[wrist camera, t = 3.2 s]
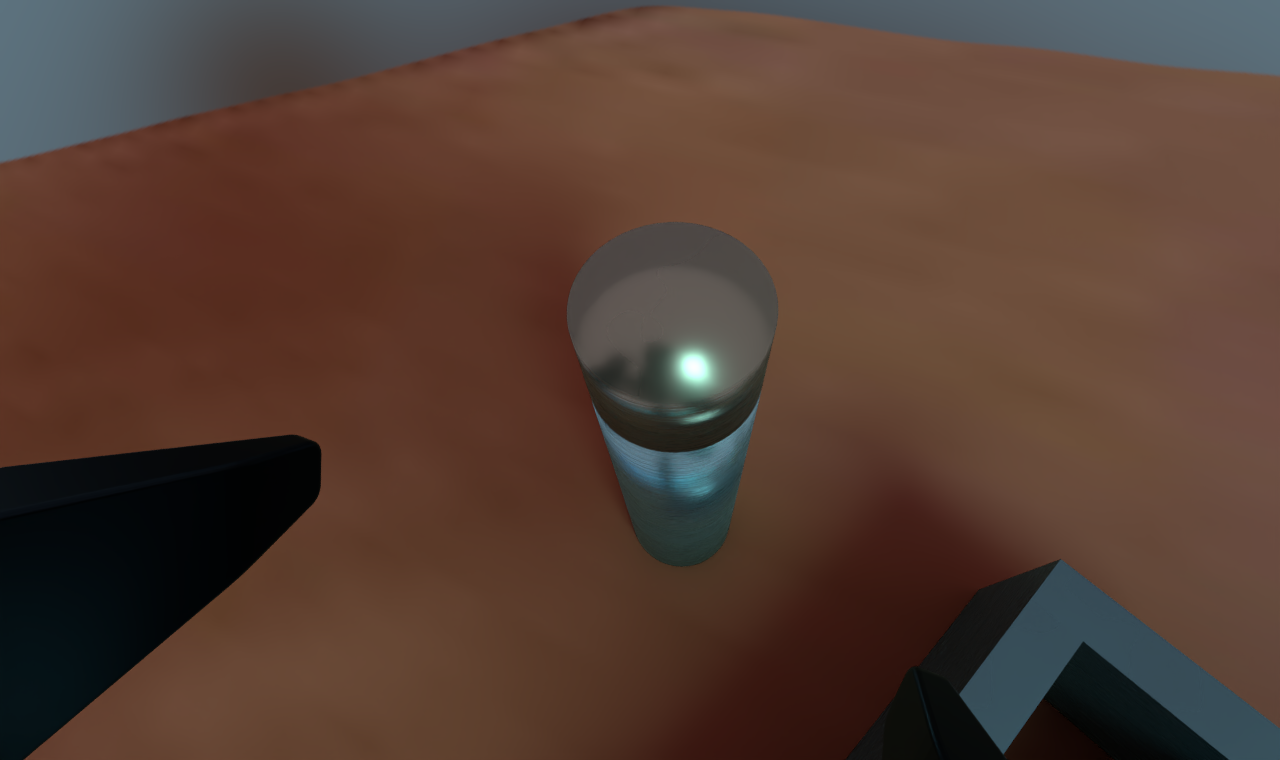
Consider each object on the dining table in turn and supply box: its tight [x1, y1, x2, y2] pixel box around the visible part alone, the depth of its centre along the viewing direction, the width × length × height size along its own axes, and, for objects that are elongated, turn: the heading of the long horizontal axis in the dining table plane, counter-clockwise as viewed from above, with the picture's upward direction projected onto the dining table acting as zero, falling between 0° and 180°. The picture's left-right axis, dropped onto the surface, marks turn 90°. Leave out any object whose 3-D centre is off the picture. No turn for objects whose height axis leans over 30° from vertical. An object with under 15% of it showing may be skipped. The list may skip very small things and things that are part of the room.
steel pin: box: [567, 222, 778, 567], centre depth 14 cm, size 3×3×12 cm
